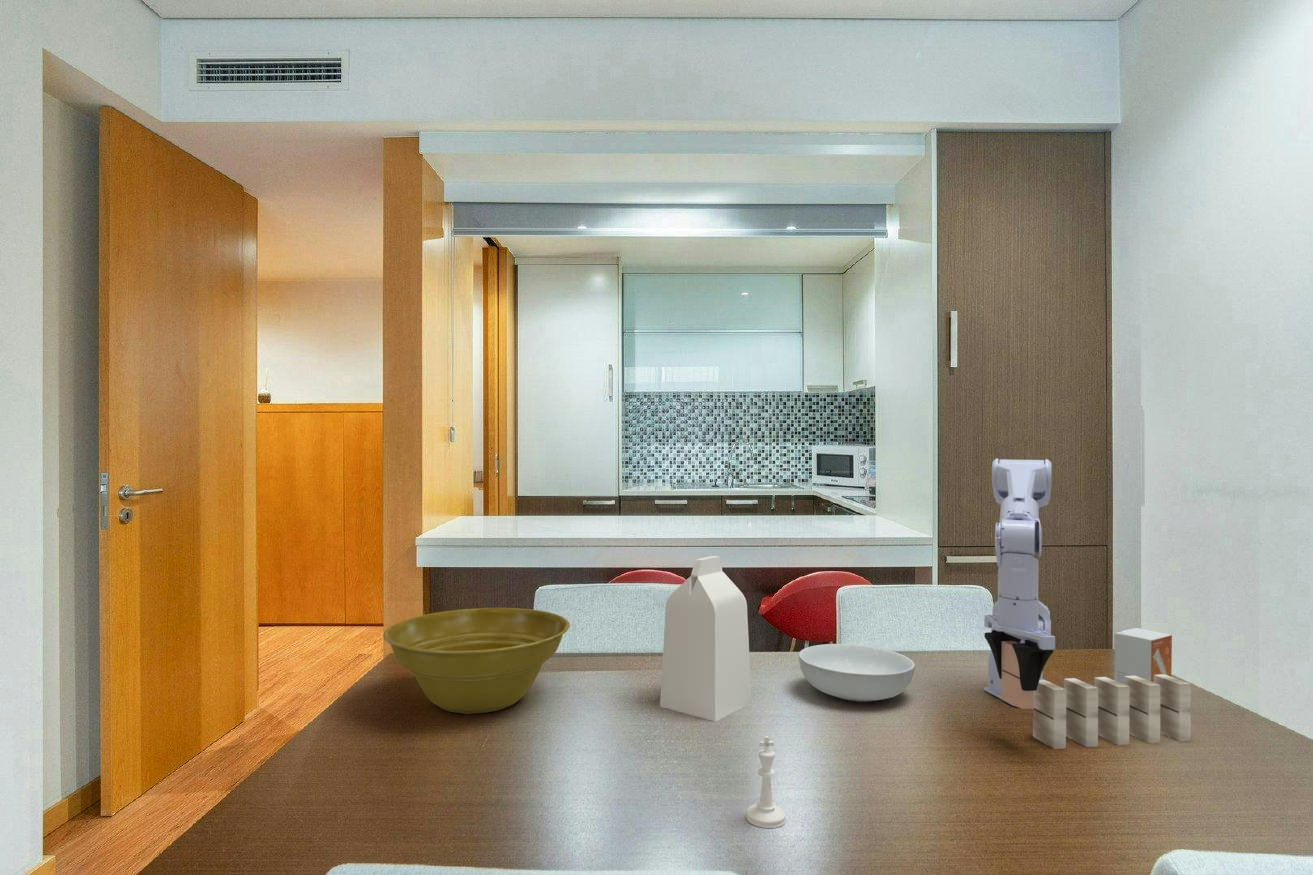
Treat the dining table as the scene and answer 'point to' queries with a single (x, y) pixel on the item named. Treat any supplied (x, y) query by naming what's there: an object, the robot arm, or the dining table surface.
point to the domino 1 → (1050, 714)
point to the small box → (1142, 654)
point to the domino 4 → (1144, 709)
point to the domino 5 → (1174, 707)
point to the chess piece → (766, 794)
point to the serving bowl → (856, 671)
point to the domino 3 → (1113, 710)
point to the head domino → (1013, 679)
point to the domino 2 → (1081, 712)
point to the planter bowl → (476, 654)
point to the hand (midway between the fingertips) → (1017, 684)
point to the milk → (706, 645)
